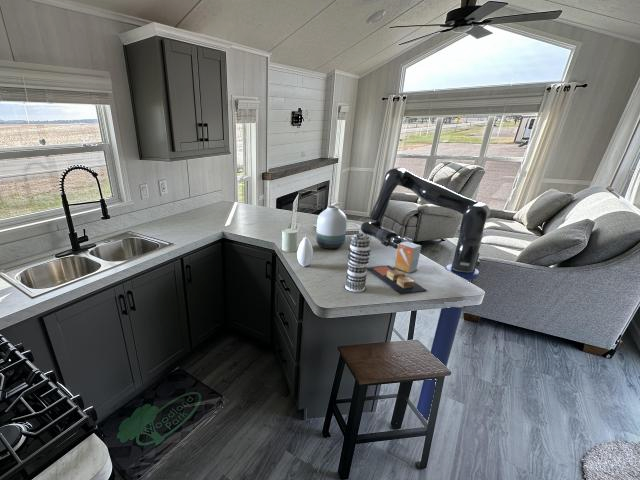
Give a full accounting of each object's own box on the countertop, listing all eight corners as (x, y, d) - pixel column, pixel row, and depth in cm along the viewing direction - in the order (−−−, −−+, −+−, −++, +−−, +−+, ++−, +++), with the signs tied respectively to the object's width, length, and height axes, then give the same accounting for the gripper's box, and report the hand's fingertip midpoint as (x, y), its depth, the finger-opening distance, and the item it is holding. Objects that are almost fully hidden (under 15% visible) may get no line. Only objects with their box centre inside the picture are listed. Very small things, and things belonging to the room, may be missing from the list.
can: (299, 247, 197) (299, 228, 192) (294, 252, 190) (295, 232, 185) (284, 245, 201) (284, 227, 196) (279, 250, 193) (279, 231, 188)
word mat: (388, 266, 168) (388, 265, 167) (425, 290, 142) (426, 289, 142) (366, 268, 166) (367, 267, 166) (400, 294, 141) (401, 292, 140)
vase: (331, 253, 187) (335, 211, 178) (309, 245, 200) (311, 206, 190) (350, 246, 196) (354, 206, 186) (328, 239, 209) (331, 202, 199)
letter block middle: (396, 275, 157) (397, 269, 155) (402, 279, 152) (403, 273, 151) (386, 276, 156) (387, 270, 155) (392, 280, 151) (393, 274, 150)
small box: (394, 267, 166) (398, 243, 160) (402, 264, 169) (406, 240, 163) (409, 273, 159) (413, 248, 154) (416, 270, 162) (421, 245, 157)
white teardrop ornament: (293, 265, 172) (294, 233, 165) (303, 261, 177) (305, 229, 170) (305, 270, 167) (307, 236, 160) (315, 265, 171) (317, 232, 164)
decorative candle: (345, 291, 144) (351, 237, 134) (343, 282, 152) (348, 231, 142) (367, 293, 142) (374, 238, 132) (363, 283, 151) (370, 231, 141)
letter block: (406, 282, 149) (407, 276, 148) (413, 287, 145) (414, 281, 144) (396, 283, 149) (397, 277, 147) (403, 288, 144) (404, 282, 143)
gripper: (375, 230, 175) (393, 240, 160) (399, 228, 177) (419, 237, 162) (373, 244, 178) (390, 254, 163) (397, 241, 180) (416, 251, 165)
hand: (405, 246), depth 163 cm, fingers open, 8 cm apart
